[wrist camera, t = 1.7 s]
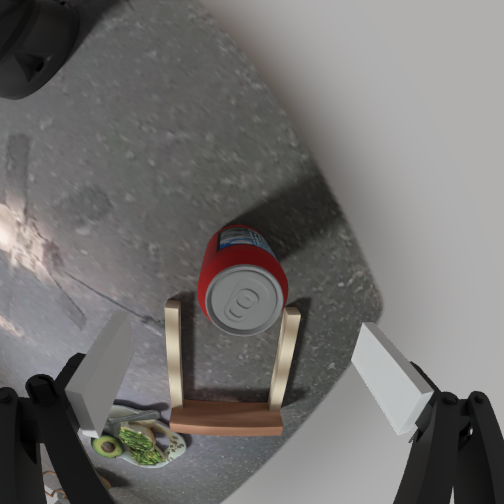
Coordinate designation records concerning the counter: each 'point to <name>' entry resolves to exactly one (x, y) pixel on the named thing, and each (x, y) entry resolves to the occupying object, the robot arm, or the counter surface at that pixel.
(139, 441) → the avocado toast plate
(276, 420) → the guide channel
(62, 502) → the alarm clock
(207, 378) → the counter surface
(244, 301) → the beverage can
